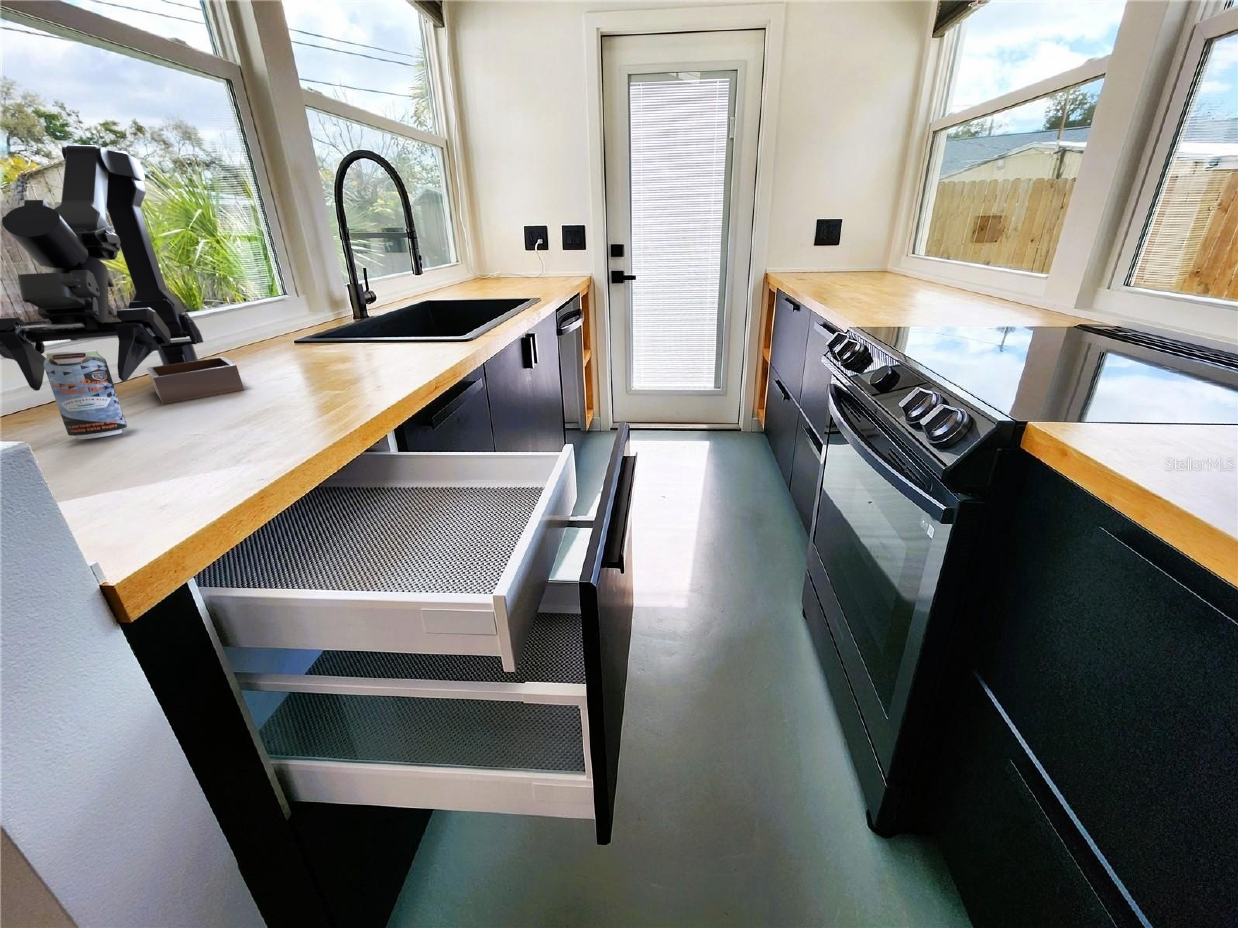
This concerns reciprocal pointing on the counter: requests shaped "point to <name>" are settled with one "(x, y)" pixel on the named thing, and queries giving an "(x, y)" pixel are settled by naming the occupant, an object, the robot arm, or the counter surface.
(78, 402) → the beverage can
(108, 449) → the counter surface
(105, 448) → the counter surface
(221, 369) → the brown rectangular open box
